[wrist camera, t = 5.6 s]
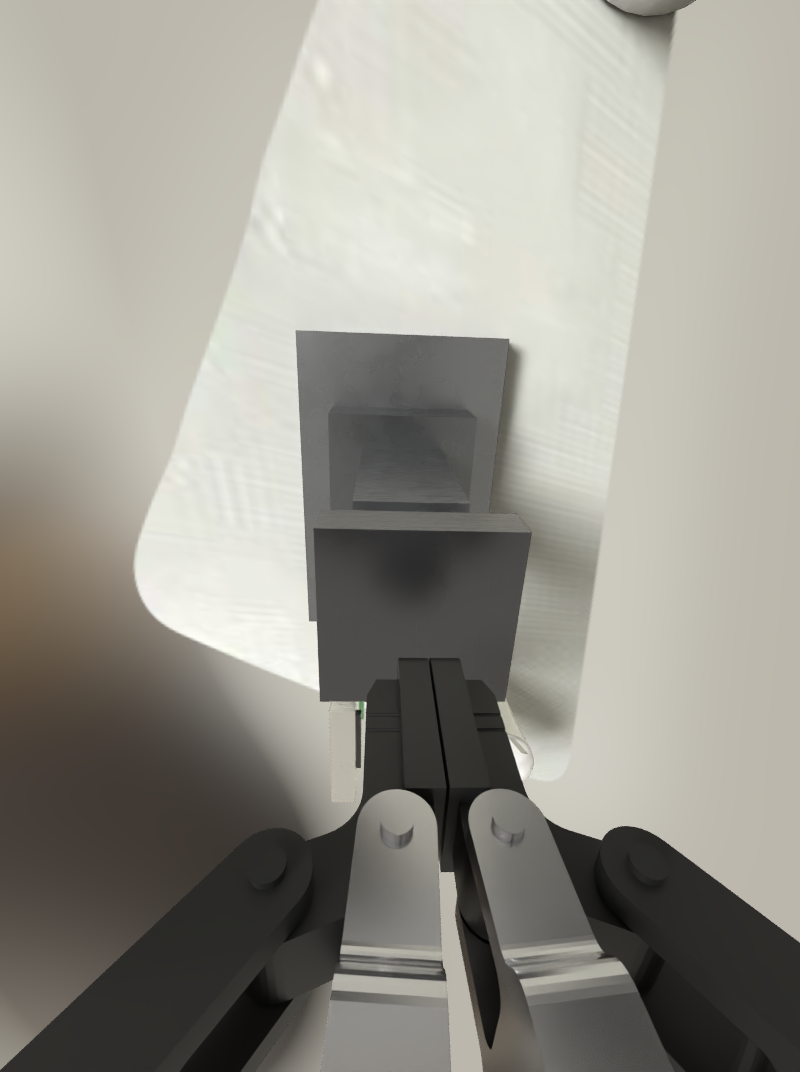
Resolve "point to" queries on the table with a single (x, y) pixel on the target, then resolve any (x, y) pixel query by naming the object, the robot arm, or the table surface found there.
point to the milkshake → (517, 741)
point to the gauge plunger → (416, 594)
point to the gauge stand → (392, 449)
